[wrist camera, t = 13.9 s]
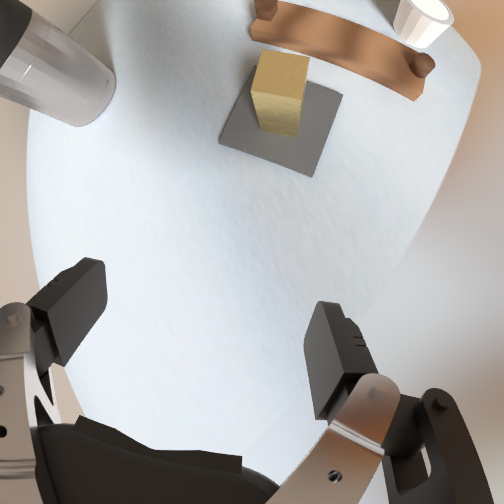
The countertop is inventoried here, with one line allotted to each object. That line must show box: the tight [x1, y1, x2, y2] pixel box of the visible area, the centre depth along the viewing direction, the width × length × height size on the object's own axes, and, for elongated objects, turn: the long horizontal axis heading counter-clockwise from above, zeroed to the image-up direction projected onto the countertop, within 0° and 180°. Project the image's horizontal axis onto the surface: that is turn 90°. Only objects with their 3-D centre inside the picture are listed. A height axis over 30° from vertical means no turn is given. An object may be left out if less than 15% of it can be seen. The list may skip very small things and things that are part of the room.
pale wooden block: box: [251, 50, 310, 138], centre depth 22 cm, size 4×4×9 cm
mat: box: [219, 66, 343, 178], centre depth 26 cm, size 10×10×1 cm
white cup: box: [393, 0, 454, 48], centre depth 20 cm, size 7×7×7 cm
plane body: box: [250, 0, 435, 101], centre depth 22 cm, size 20×6×6 cm, turn 68°
